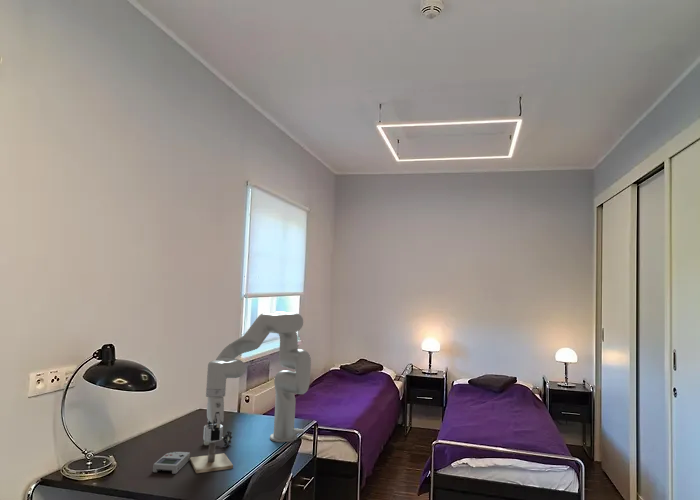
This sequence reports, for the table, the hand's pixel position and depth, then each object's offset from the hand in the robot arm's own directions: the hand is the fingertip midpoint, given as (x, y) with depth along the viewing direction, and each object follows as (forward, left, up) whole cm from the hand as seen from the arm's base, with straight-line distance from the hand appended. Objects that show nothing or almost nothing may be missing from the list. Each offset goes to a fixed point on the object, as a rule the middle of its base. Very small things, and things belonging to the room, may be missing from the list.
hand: (212, 436), depth 195 cm
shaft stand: (0, 0, -11) cm, 11 cm away
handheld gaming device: (+15, -3, -11) cm, 19 cm away
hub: (0, 0, -1) cm, 1 cm away
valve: (-7, -22, -11) cm, 25 cm away
